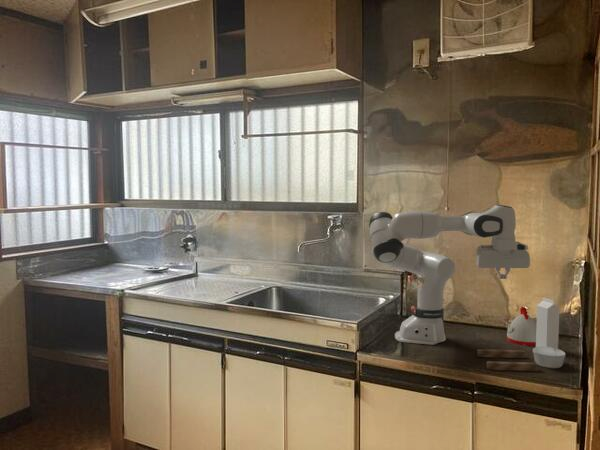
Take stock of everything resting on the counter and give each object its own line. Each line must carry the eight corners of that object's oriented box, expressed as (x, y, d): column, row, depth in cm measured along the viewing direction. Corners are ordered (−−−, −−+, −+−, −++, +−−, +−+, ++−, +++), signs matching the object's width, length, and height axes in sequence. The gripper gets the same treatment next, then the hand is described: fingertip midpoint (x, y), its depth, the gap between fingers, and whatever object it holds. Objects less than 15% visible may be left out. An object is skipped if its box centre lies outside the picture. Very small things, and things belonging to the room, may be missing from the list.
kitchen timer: (534, 336, 227) (535, 304, 226) (546, 346, 213) (547, 311, 212) (502, 335, 228) (503, 303, 227) (512, 345, 215) (513, 311, 213)
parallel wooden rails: (487, 369, 187) (488, 363, 186) (477, 355, 202) (477, 349, 202) (537, 371, 185) (538, 364, 185) (523, 356, 201) (523, 350, 200)
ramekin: (571, 367, 188) (572, 354, 188) (547, 371, 185) (547, 357, 185) (549, 358, 199) (550, 345, 198) (526, 360, 196) (526, 347, 195)
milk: (546, 353, 204) (547, 301, 202) (535, 349, 209) (536, 297, 207) (558, 352, 205) (559, 299, 203) (547, 347, 211) (548, 296, 209)
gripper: (478, 245, 199) (478, 279, 200) (532, 246, 197) (531, 280, 198) (474, 244, 205) (474, 277, 206) (526, 244, 203) (525, 277, 204)
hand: (502, 278), depth 202 cm, fingers closed
